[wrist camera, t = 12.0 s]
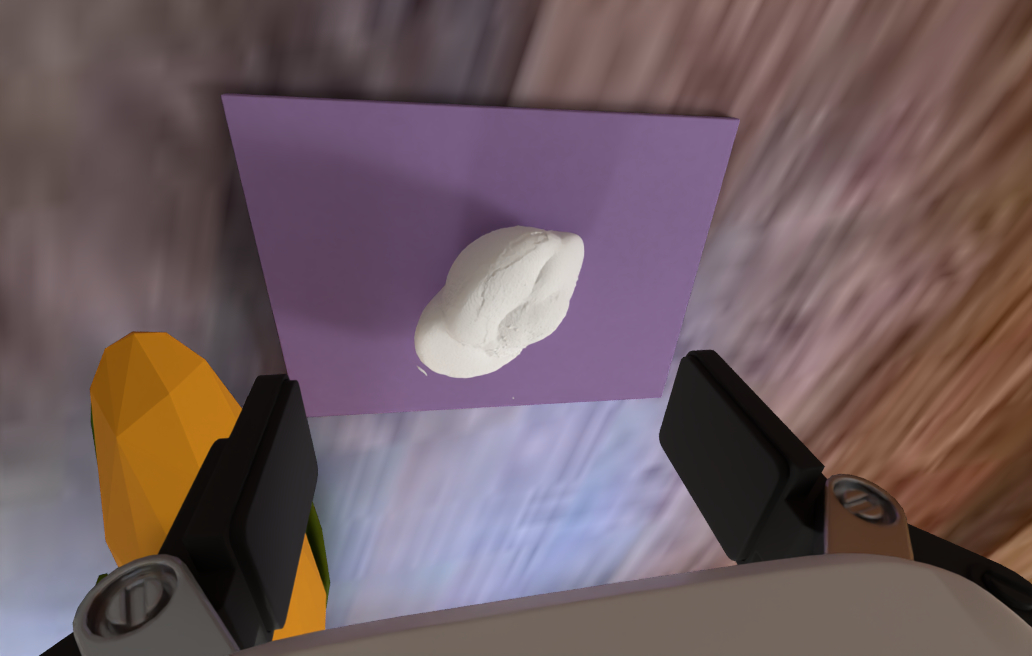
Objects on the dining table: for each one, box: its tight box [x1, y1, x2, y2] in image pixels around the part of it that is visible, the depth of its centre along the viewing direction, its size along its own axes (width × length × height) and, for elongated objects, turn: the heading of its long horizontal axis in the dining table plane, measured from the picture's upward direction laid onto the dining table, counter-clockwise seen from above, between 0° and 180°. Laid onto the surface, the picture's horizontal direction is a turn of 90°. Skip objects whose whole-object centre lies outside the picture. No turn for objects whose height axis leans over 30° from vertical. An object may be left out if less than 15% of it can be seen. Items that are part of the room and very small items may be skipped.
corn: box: [90, 331, 330, 641], centre depth 18 cm, size 7×8×20 cm
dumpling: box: [414, 225, 584, 399], centre depth 16 cm, size 7×5×4 cm
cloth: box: [221, 93, 740, 417], centre depth 18 cm, size 16×12×1 cm
